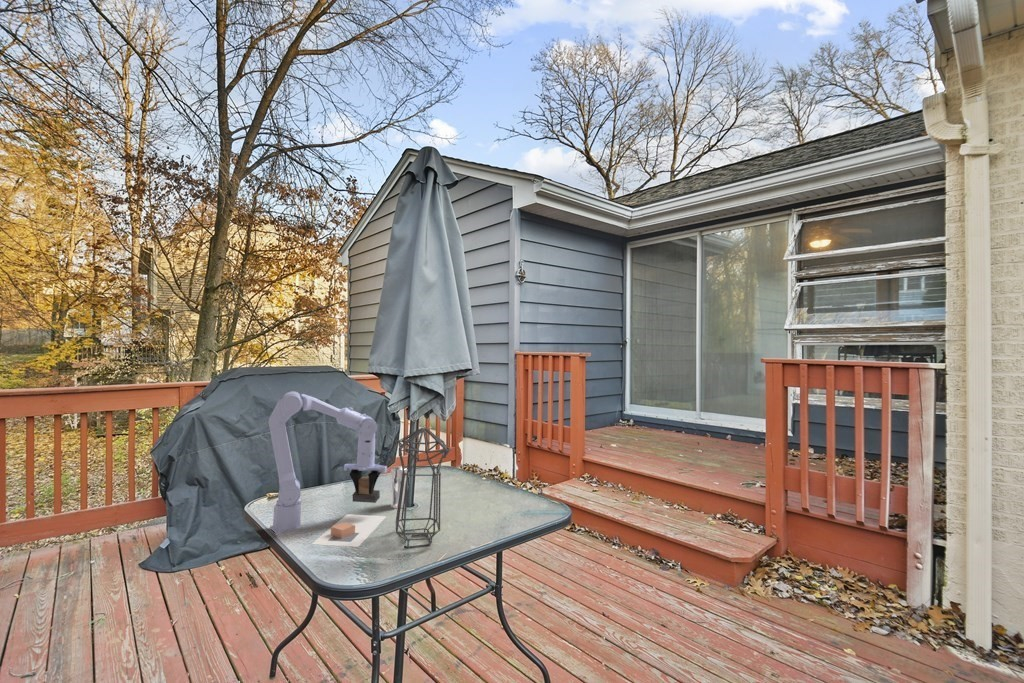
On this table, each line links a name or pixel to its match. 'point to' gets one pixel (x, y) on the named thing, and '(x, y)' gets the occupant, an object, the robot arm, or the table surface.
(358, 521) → the board
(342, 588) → the table surface
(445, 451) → the geometric lantern
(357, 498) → the brown block stamp
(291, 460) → the robot arm
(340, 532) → the tile
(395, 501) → the beer glass
